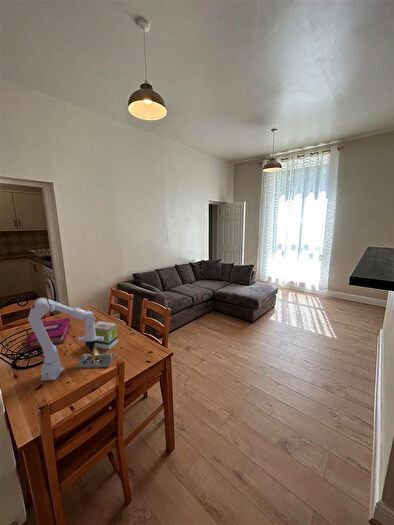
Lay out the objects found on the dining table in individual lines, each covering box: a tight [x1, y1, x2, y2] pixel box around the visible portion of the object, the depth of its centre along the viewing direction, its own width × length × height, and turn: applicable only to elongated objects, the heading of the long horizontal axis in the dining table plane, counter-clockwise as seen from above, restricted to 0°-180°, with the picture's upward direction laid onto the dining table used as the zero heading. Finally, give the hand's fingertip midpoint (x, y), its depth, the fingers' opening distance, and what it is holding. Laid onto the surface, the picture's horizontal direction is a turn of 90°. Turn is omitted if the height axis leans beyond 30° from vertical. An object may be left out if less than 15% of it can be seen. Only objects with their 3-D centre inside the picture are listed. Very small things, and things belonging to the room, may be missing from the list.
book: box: [26, 317, 71, 350], centre depth 160 cm, size 21×28×8 cm
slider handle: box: [90, 347, 100, 362], centre depth 133 cm, size 6×3×5 cm, turn 5°
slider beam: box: [81, 352, 113, 362], centre depth 133 cm, size 5×17×2 cm, turn 95°
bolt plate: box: [75, 353, 115, 369], centre depth 133 cm, size 11×19×1 cm, turn 95°
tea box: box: [94, 320, 119, 350], centre depth 150 cm, size 15×10×15 cm, turn 74°
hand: (92, 351), depth 134 cm, fingers closed
